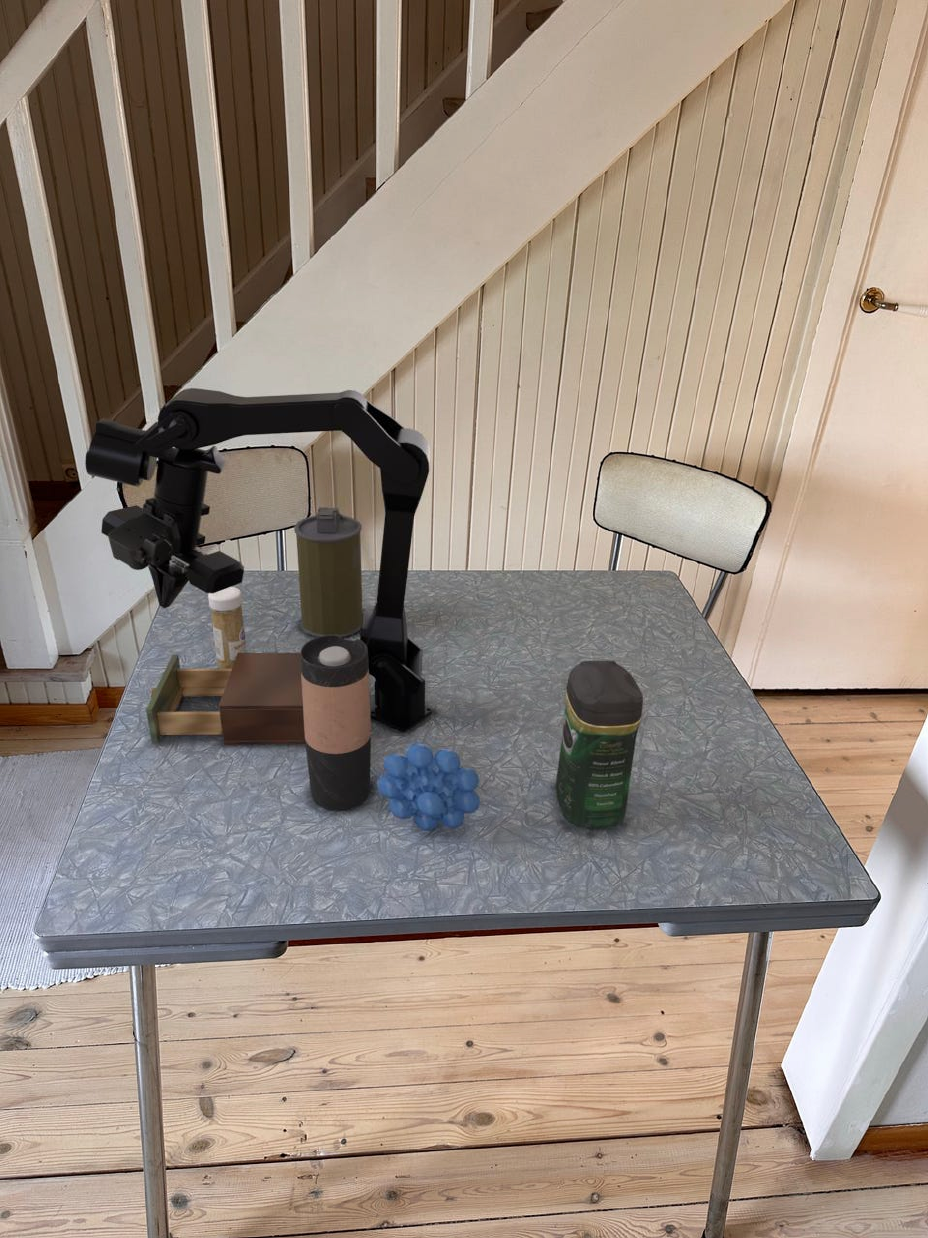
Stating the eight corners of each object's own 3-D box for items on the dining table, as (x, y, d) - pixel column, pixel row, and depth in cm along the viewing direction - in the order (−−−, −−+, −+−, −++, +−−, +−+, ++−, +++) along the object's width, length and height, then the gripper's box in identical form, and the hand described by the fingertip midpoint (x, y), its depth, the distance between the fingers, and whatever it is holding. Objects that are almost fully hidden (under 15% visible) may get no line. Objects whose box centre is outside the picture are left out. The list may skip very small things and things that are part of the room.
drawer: (142, 744, 109) (135, 709, 106) (168, 686, 121) (163, 654, 118) (246, 743, 110) (242, 708, 107) (262, 686, 121) (259, 654, 119)
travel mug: (321, 820, 98) (312, 674, 88) (300, 782, 104) (289, 641, 94) (382, 801, 101) (379, 659, 91) (358, 765, 107) (354, 628, 97)
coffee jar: (632, 831, 98) (655, 698, 89) (566, 835, 97) (582, 701, 88) (610, 778, 106) (628, 651, 97) (549, 781, 105) (562, 654, 96)
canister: (360, 640, 135) (356, 524, 125) (295, 638, 135) (287, 521, 125) (367, 608, 144) (365, 498, 135) (307, 606, 144) (300, 496, 135)
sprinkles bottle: (248, 680, 124) (240, 598, 117) (216, 682, 123) (206, 600, 116) (250, 664, 127) (242, 584, 121) (219, 665, 127) (209, 585, 120)
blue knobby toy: (377, 856, 93) (374, 770, 87) (378, 815, 99) (376, 732, 93) (481, 854, 94) (486, 769, 88) (477, 813, 100) (481, 730, 94)
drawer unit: (223, 744, 110) (218, 705, 107) (241, 689, 121) (237, 652, 118) (316, 744, 110) (313, 705, 108) (325, 689, 122) (323, 652, 119)
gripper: (68, 475, 97) (60, 592, 104) (187, 541, 91) (170, 660, 99) (143, 462, 107) (131, 570, 114) (255, 521, 101) (236, 631, 108)
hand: (164, 606), depth 108 cm, fingers closed
